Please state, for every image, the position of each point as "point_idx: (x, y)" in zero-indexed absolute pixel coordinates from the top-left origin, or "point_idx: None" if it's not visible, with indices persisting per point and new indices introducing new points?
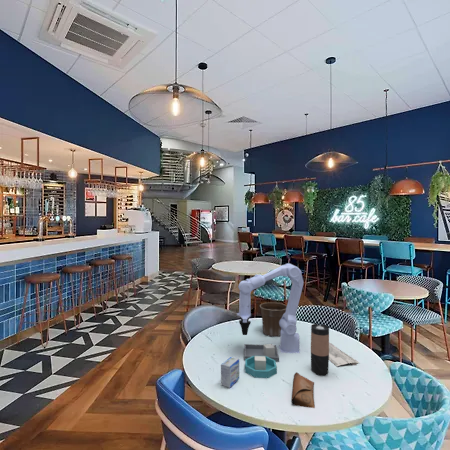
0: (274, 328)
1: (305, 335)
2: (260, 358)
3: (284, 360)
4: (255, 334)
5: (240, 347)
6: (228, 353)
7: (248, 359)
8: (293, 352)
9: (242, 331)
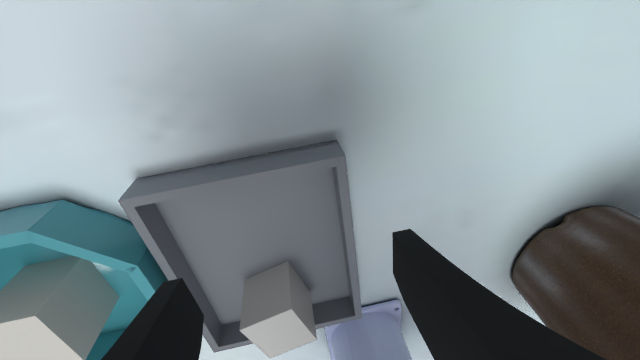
0: (551, 311)
1: None
2: (28, 348)
3: None
4: (574, 167)
5: (358, 104)
6: (214, 16)
7: (53, 247)
8: (333, 354)
9: (125, 337)
